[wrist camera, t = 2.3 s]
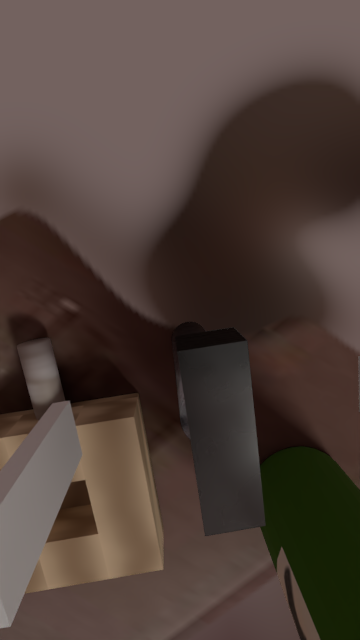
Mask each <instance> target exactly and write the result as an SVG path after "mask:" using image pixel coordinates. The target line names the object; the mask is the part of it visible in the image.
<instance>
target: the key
mask: <svg viewBox="0 0 360 640" xmlns="http://www.w3.org/2000/svg"><path fill="white" fill-rule="evenodd" d="M172 348H173V357H174V366H175V375H176V384H177V393H178V402H179V411H180V420H181V426H182V429H183V431H184V433H185V434H186V435H187V437H188V438H189V439H190V440H191V447H192V453H193V460H194V466H195V473H196V480H197V486H198V493H199V499H200V506H201V512H202V519H203V525H204V532H205V536H209V535H215V534H221V533H227V532H232V531H238V530H244V529H250V528H256V527H262V526H266V524H265V514H264V504H263V494H262V484H261V474H260V464H259V454H258V444H257V433H256V423H255V413H254V403H253V393H252V383H251V373H250V363H249V353H248V343H247V340H246V339H245V338H244V337H243V336H242V335H241V334H240V333H239V332H238V331H237V330H236V329H235V328H234V327H232V328H225V329H219V330H212V331H205V329H204V328H203V327H202V326H201V325H199V324H198V323H195V322H185V323H182V324H180V325H179V326H178V327H176V329H175V330H174V332H173V334H172Z"/></svg>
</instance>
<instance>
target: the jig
mask: <svg viewBox="0 0 360 640" xmlns="http://www.w3.org/2000/svg"><path fill="white" fill-rule="evenodd" d="M17 350H18V354H19V357H20V361H21V365H22V368H23V372H24V376H25V380H26V383H27V387H28V391H29V395H30V398H31V402H32V406H33V409H32V410H25V411H19V412H12V413H6V414H0V471H1V469H2V468H3V467H4V465H5V464H6V463H7V462H8V460H9V459H10V458H11V456H12V455H13V454H14V452H15V451H16V450H17V449H18V447H19V446H20V445H21V443H22V442H23V441H24V439H25V438H26V437H27V436H28V434H29V433H30V432H31V430H32V429H33V428H34V426H35V425H36V424H37V423H38V421H39V420H40V419H41V417H42V416H43V415H44V413H45V412H46V411H47V410H48V408H49V407H50V406H51V404H52V403H56V402H63V401H65V397H64V393H63V389H62V384H61V380H60V376H59V372H58V368H57V364H56V360H55V356H54V351H53V347H52V343H51V339H50V338H39V339H34V340H30V341H26V342H23V343H21V344H19V345H17ZM70 404H71V409H72V413H73V417H74V421H75V425H76V429H77V433H78V438H79V442H80V446H81V450H82V454H83V455H82V457H81V459H80V462H79V464H78V467H77V469H76V471H75V474H74V476H73V478H72V481H71V483H70V486H69V488H68V490H67V493H66V495H65V498H64V500H63V502H62V505H61V507H60V510H59V512H58V514H57V517H56V519H55V521H54V524H53V526H52V529H51V531H50V533H49V536H48V538H47V541H46V543H45V545H44V548H43V550H42V552H41V555H40V557H39V560H38V562H37V564H36V567H35V569H34V572H33V574H32V576H31V579H30V581H29V584H28V586H27V588H26V591H25V593H31V592H37V591H42V590H48V589H54V588H60V587H65V586H71V585H77V584H82V583H88V582H94V581H100V580H105V579H111V578H117V577H123V576H128V575H134V574H140V573H146V572H151V571H157V570H163V523H162V517H161V512H160V507H159V501H158V496H157V491H156V485H155V480H154V474H153V469H152V464H151V458H150V453H149V447H148V442H147V437H146V431H145V426H144V421H143V415H142V410H141V404H140V399H139V394H138V393H133V394H127V395H120V396H114V397H108V398H101V399H95V400H89V401H82V402H76V403H70ZM25 593H24V594H25Z"/></svg>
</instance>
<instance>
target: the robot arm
mask: <svg viewBox="0 0 360 640" xmlns="http://www.w3.org/2000/svg"><path fill="white" fill-rule="evenodd" d="M358 367H359V412H360V356H358ZM82 455H83V454H82V450H81V446H80V442H79V438H78V433H77V429H76V425H75V421H74V417H73V413H72V409H71V404H70V400H69V401H63V402H56V403H52V404H51V406H50V407H49V408H48V410H47V411H46V412H45V413H44V415H43V416H42V417H41V419H40V420H39V421H38V423H37V424H36V425H35V426H34V428H33V429H32V430H31V432H30V433H29V434H28V436H27V437H26V438H25V439H24V441H23V442H22V443H21V445H20V446H19V447H18V449H17V450H16V451H15V452H14V454H13V455H12V456H11V458H10V459H9V460H8V462H7V463H6V464H5V465H4V467H3V468H2V469H1V471H0V628H4V627H11V624H12V622H13V619H14V617H15V615H16V612H17V610H18V607H19V605H20V603H21V600H22V598H23V595H24V593H25V591H26V588H27V586H28V584H29V581H30V579H31V576H32V574H33V572H34V569H35V567H36V564H37V562H38V560H39V557H40V555H41V552H42V550H43V548H44V545H45V543H46V541H47V538H48V536H49V533H50V531H51V529H52V526H53V524H54V521H55V519H56V517H57V514H58V512H59V510H60V507H61V505H62V502H63V500H64V498H65V495H66V493H67V490H68V488H69V486H70V483H71V481H72V478H73V476H74V474H75V471H76V469H77V467H78V464H79V462H80V459H81V457H82Z"/></svg>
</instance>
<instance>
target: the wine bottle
mask: <svg viewBox="0 0 360 640" xmlns="http://www.w3.org/2000/svg"><path fill="white" fill-rule="evenodd" d="M260 474H261V484H262V494H263V504H264V514H265V524H266V526H262V527H260V528H261V530H262V533H263V536H264V539H265V541H266V544H267V547H268V550H269V552H270V555H271V558H272V561H273V563H274V566H275V569H276V572H277V575H278V578H279V580H280V584H281V586H282V590H283V592H284V595H285V598H286V601H287V603H288V606H289V609H290V611H291V614H292V617H293V620H294V623H295V625H296V628H297V631H298V634H299V636H300V639H301V640H360V490H359V489H358V487H357V486H356V485H355V484H354V483H353V482H352V480H351V479H350V478H349V477H348V476H347V475H346V473H345V472H344V471H343V470H342V469H341V467H340V466H339V465H338V464H337V463H336V462H335V461H334V460H333V459H332V458H331V457H330V456H328V455H327V454H325V453H323V452H321V451H319V450H317V449H315V448H310V447H304V446H300V447H290V448H287V449H284V450H280V451H278V452H276V453H275V454H273V455H271V456H270V457H268V458H267V459H266V460H265V461H264V462H263V463H262V464H261V465H260Z"/></svg>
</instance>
